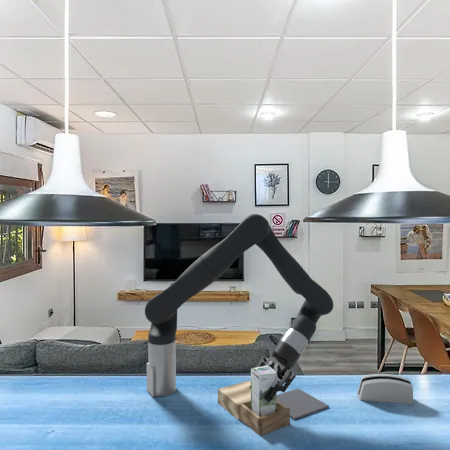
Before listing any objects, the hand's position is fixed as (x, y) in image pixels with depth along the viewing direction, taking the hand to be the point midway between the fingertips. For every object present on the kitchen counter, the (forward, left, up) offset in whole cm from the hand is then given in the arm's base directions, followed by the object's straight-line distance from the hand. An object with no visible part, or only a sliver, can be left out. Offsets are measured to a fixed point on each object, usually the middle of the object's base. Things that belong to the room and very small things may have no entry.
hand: (259, 395), depth 109 cm
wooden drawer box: (+2, +5, -8) cm, 10 cm away
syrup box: (+2, 0, -8) cm, 8 cm away
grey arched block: (+43, -10, -8) cm, 45 cm away
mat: (+17, +3, -8) cm, 19 cm away
